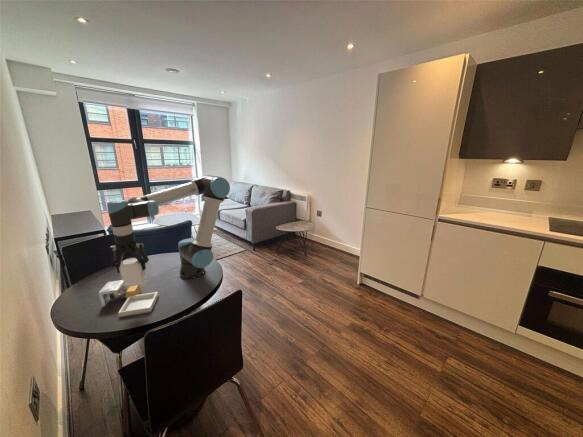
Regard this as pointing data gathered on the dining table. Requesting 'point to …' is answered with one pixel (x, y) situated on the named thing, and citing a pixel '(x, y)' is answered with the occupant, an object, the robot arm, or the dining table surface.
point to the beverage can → (131, 272)
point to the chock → (133, 290)
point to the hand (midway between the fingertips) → (133, 277)
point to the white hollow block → (112, 292)
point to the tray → (138, 304)
